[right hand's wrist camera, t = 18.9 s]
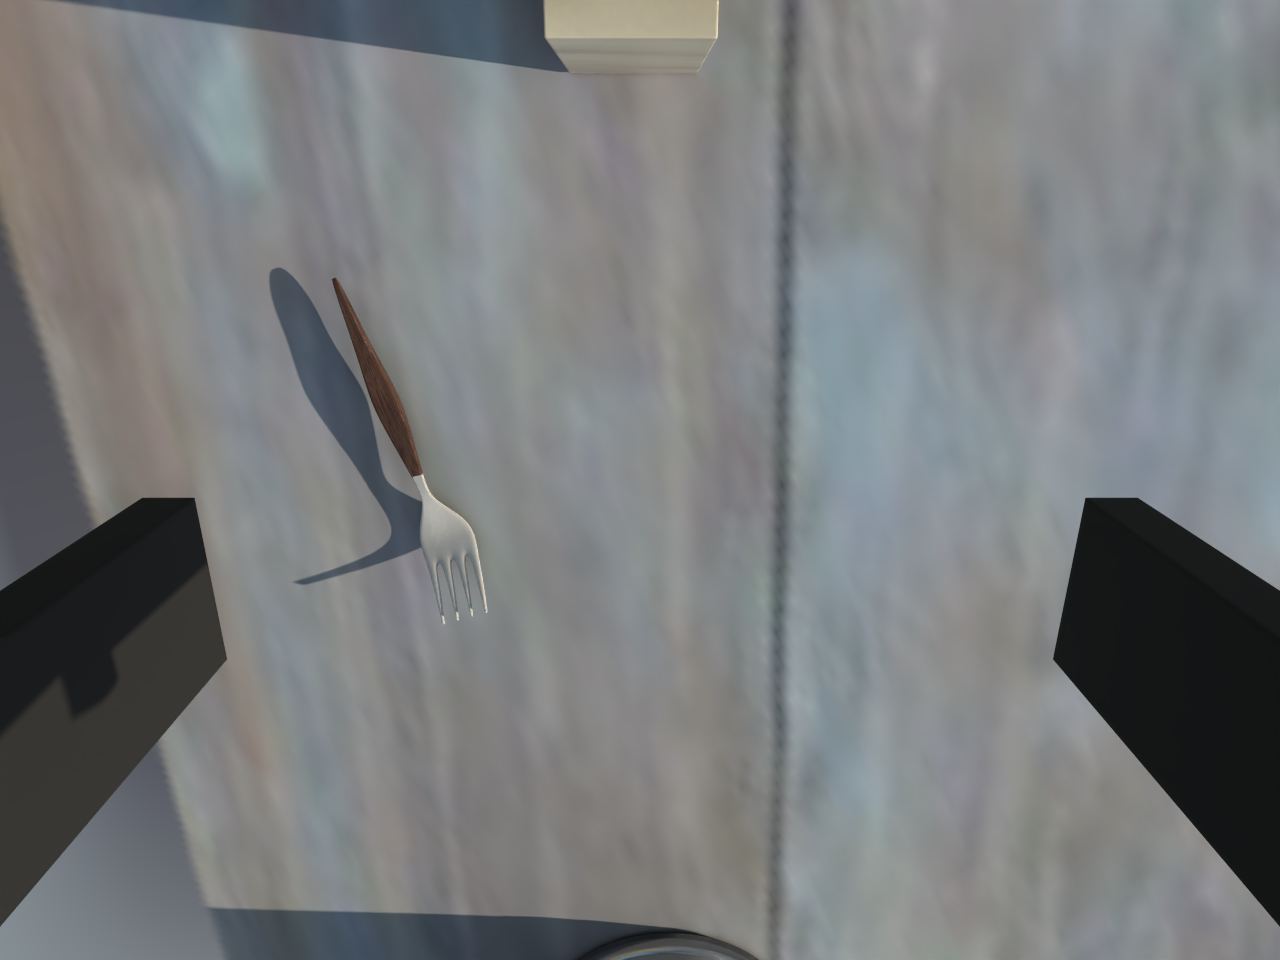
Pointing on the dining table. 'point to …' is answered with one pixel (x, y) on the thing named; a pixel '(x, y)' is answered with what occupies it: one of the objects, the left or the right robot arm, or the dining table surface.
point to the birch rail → (631, 34)
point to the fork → (415, 471)
